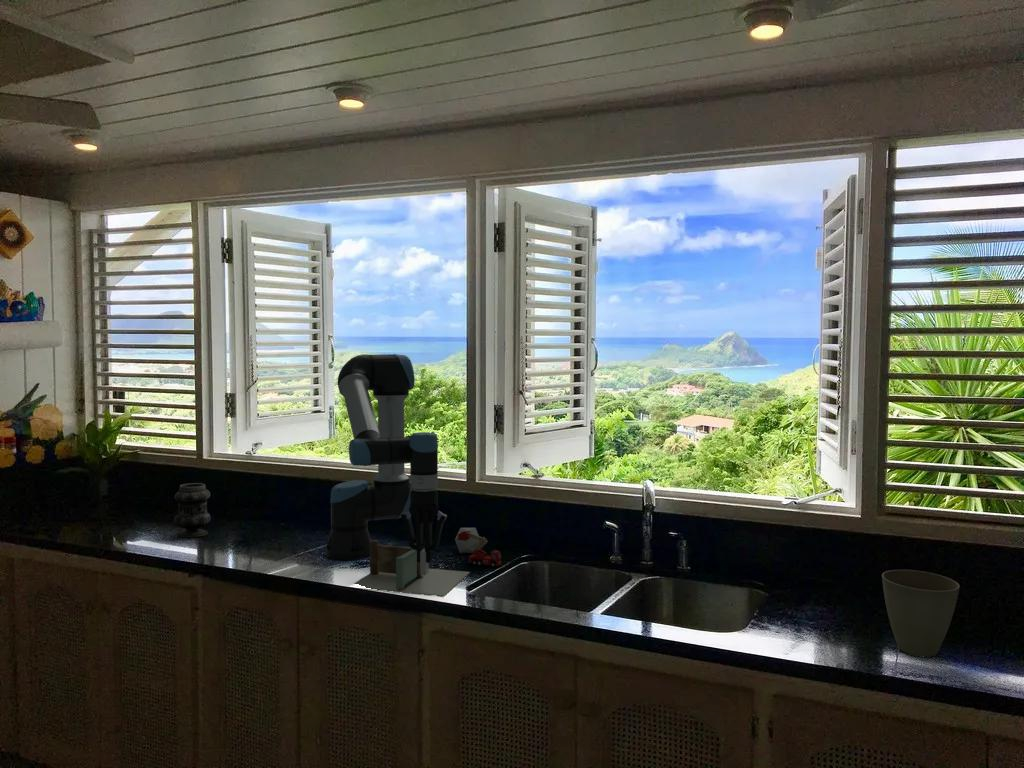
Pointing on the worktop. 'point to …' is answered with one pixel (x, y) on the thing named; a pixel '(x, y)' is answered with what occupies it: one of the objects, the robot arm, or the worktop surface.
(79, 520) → the worktop surface
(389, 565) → the base
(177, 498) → the dark grey urn vase
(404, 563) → the green rectangular block
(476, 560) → the toy fire truck
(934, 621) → the plant pot
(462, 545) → the die
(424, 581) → the card
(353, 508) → the robot arm
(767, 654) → the worktop surface
